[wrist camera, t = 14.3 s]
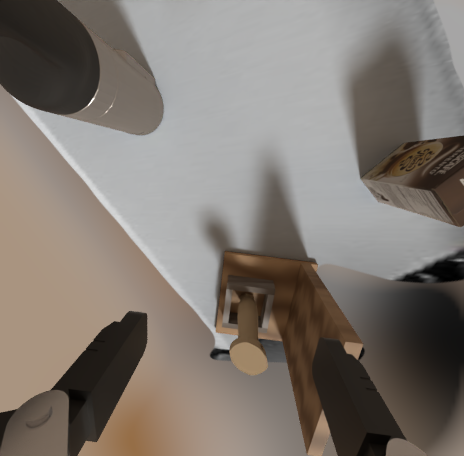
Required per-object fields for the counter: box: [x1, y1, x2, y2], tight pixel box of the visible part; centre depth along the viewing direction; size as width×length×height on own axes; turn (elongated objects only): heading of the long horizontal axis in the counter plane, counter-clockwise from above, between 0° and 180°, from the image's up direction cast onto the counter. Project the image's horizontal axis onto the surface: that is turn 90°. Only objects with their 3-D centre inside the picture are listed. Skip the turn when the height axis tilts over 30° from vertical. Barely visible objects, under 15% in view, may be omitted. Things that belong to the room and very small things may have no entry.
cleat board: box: [216, 251, 363, 456], centre depth 37 cm, size 20×19×21 cm
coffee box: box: [361, 136, 464, 227], centre depth 31 cm, size 9×6×16 cm
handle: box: [230, 293, 268, 375], centre depth 39 cm, size 5×6×15 cm
